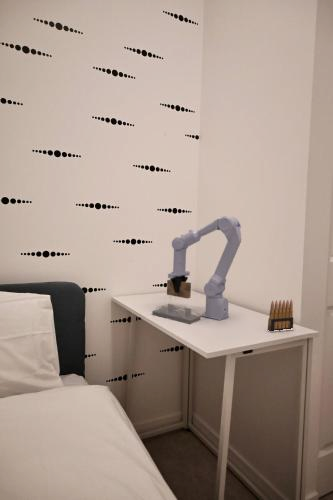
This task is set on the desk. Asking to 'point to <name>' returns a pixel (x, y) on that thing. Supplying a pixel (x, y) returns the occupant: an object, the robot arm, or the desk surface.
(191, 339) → the desk surface
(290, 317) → the ammunition clip
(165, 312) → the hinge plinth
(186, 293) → the door panel
